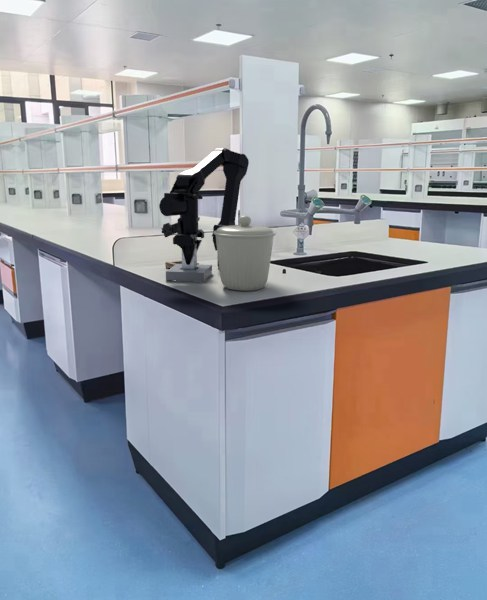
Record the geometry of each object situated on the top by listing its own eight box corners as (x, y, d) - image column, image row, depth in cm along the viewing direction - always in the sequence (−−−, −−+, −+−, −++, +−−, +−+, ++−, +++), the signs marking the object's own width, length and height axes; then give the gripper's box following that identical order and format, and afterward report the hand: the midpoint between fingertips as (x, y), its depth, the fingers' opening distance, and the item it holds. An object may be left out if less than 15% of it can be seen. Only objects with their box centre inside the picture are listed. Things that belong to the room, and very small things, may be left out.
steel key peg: (184, 271, 171) (184, 243, 169) (196, 271, 171) (196, 244, 168) (182, 273, 167) (181, 245, 165) (194, 274, 167) (194, 245, 165)
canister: (243, 278, 168) (244, 212, 163) (286, 287, 156) (289, 216, 151) (200, 287, 155) (200, 215, 150) (244, 297, 143) (246, 219, 138)
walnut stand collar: (186, 265, 190) (185, 259, 190) (199, 268, 184) (198, 263, 183) (165, 267, 185) (165, 262, 185) (178, 271, 179) (178, 265, 178)
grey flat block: (211, 273, 175) (211, 264, 175) (203, 282, 162) (203, 272, 161) (176, 272, 177) (176, 263, 176) (165, 280, 163) (165, 271, 162)
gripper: (171, 211, 174) (172, 258, 178) (155, 216, 156) (157, 267, 160) (204, 212, 173) (204, 259, 177) (192, 217, 155) (192, 269, 159)
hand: (189, 263), depth 168 cm, fingers closed on steel key peg, 4 cm apart
